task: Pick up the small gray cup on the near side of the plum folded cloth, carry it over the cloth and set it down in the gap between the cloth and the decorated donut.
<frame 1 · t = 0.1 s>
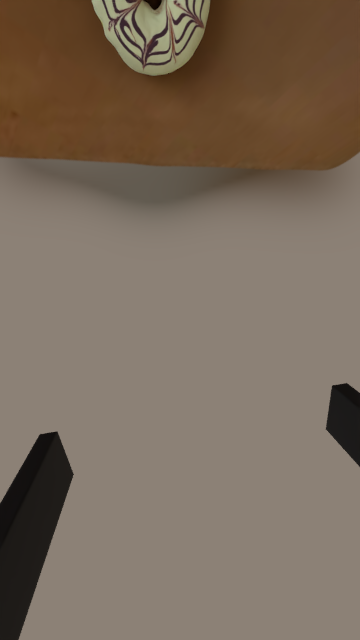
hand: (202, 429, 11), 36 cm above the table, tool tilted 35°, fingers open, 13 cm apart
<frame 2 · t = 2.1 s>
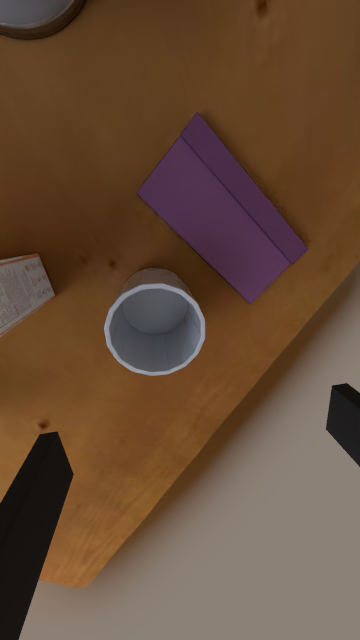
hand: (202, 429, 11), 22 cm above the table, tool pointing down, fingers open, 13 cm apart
gray cup: (155, 303, 32), on the table
plum cloth: (226, 222, 29), on the table
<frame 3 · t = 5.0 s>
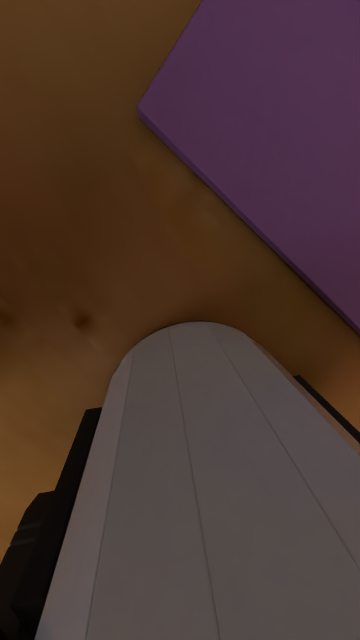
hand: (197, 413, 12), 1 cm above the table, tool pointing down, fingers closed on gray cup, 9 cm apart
gray cup: (194, 399, 13), on the table, touching gripper
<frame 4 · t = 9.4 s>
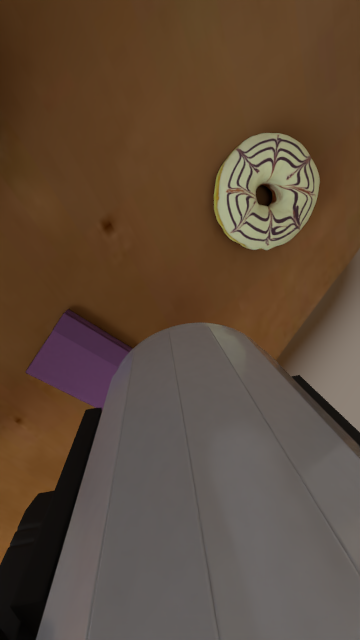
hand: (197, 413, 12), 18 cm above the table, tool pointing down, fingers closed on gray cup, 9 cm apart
gray cup: (194, 400, 13), point 17 cm above the table, touching gripper
decorated donut: (256, 199, 26), on the table
plum cloth: (116, 378, 32), on the table
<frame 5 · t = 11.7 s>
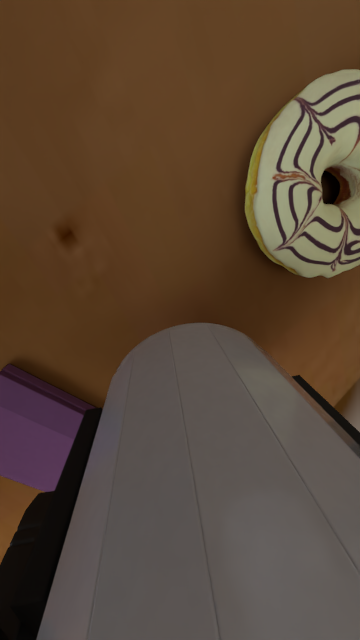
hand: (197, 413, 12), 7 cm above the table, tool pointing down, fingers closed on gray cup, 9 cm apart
gray cup: (194, 400, 13), point 6 cm above the table, touching gripper
decorated donut: (309, 195, 16), on the table
plum cloth: (89, 455, 22), on the table
when the fingers open (1 cm above the table, at t = 13.7 s): gray cup stays where it is, on the table.
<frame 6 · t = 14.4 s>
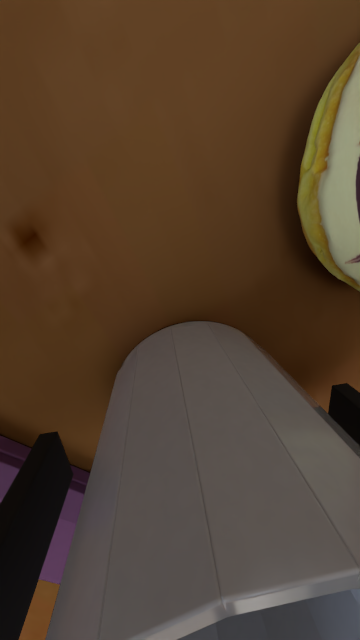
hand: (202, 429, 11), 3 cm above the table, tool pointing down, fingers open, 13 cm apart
gray cup: (195, 395, 14), on the table
plum cloth: (73, 525, 17), on the table
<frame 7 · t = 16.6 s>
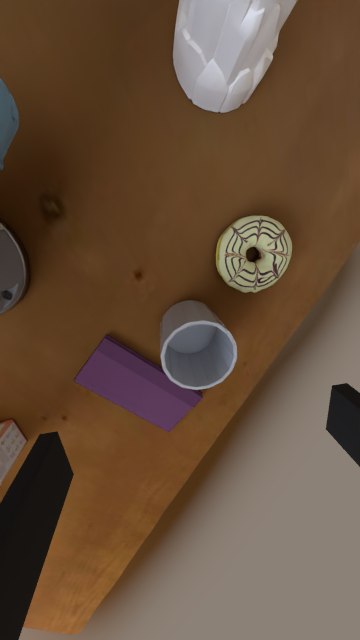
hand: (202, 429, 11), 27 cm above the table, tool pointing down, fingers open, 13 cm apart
gray cup: (189, 328, 38), on the table
decorated donut: (247, 254, 35), on the table
plum cloth: (140, 385, 41), on the table
decorative vase: (217, 58, 28), on the table
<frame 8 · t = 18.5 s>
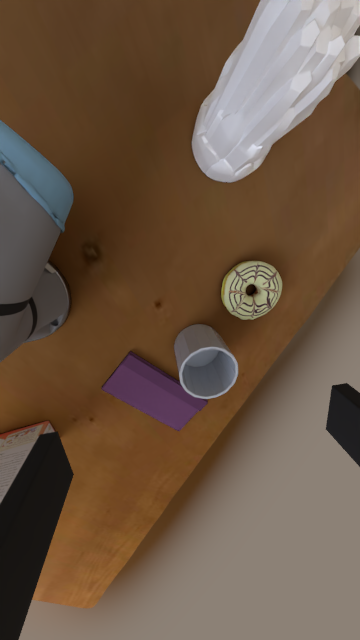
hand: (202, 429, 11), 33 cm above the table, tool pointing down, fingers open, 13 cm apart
gray cup: (197, 346, 46), on the table
decorated donut: (246, 288, 44), on the table
plum cloth: (156, 392, 49), on the table
decorative vase: (226, 143, 35), on the table
cracker box: (24, 437, 49), on the table
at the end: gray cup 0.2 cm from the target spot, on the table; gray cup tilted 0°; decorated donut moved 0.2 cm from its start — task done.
